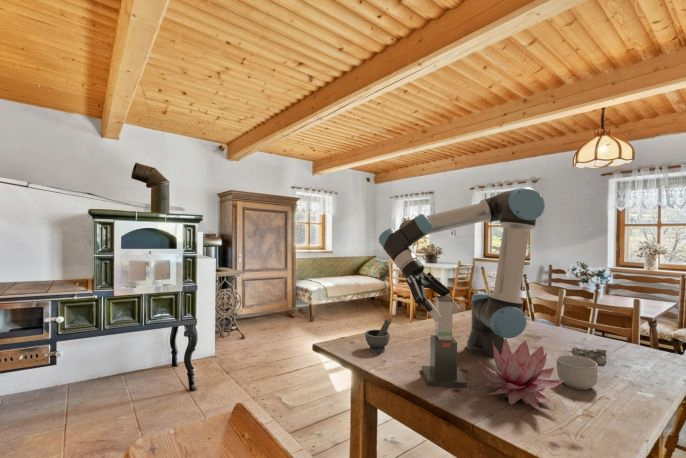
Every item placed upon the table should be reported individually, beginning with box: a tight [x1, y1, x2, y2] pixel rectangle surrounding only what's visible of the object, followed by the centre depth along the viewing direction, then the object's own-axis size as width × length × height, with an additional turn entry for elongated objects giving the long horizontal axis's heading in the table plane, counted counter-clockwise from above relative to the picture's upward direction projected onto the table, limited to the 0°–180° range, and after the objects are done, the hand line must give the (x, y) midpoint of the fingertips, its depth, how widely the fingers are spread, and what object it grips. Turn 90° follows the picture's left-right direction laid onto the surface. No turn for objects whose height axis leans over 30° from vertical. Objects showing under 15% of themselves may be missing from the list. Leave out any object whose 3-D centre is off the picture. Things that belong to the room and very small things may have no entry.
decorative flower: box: [479, 338, 564, 409], centre depth 98 cm, size 21×21×15 cm
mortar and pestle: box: [364, 318, 392, 354], centre depth 136 cm, size 11×9×12 cm
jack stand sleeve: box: [420, 334, 468, 388], centre depth 111 cm, size 12×12×13 cm
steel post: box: [434, 295, 454, 341], centre depth 111 cm, size 4×4×20 cm
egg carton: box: [571, 346, 608, 365], centre depth 129 cm, size 11×8×4 cm
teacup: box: [555, 353, 599, 391], centre depth 108 cm, size 14×11×8 cm
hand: (448, 315), depth 109 cm, fingers open, 13 cm apart
